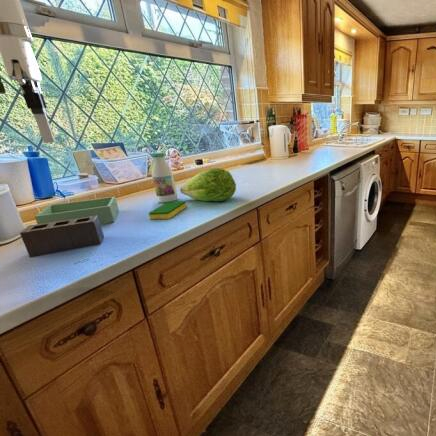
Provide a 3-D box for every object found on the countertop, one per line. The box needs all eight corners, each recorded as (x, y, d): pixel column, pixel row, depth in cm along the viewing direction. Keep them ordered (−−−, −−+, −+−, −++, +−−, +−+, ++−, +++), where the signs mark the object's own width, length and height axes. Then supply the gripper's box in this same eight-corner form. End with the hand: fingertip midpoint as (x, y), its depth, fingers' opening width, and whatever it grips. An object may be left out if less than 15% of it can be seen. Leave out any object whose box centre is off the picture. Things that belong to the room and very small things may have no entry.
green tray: (41, 233, 96) (34, 216, 94) (54, 220, 108) (49, 205, 106) (114, 221, 104) (109, 206, 102) (119, 210, 116) (115, 196, 114)
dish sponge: (187, 206, 118) (185, 200, 117) (169, 218, 105) (168, 212, 104) (169, 207, 118) (167, 201, 117) (149, 219, 105) (147, 212, 104)
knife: (42, 143, 87) (22, 86, 82) (45, 142, 89) (26, 87, 84) (54, 142, 88) (35, 86, 83) (56, 141, 90) (38, 87, 85)
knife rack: (29, 257, 80) (19, 232, 77) (37, 248, 85) (28, 225, 82) (100, 244, 86) (93, 221, 84) (104, 236, 91) (97, 215, 89)
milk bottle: (162, 198, 132) (151, 151, 125) (180, 197, 132) (171, 151, 126) (154, 203, 124) (143, 154, 118) (174, 202, 125) (163, 153, 118)
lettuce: (200, 195, 138) (187, 167, 131) (244, 191, 129) (232, 161, 123) (178, 211, 126) (162, 182, 119) (225, 208, 117) (210, 176, 111)
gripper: (6, 39, 84) (31, 109, 91) (-24, 25, 71) (7, 108, 77) (41, 41, 87) (62, 108, 94) (18, 27, 74) (45, 107, 80)
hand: (37, 108), depth 85 cm, fingers closed on knife, 2 cm apart
